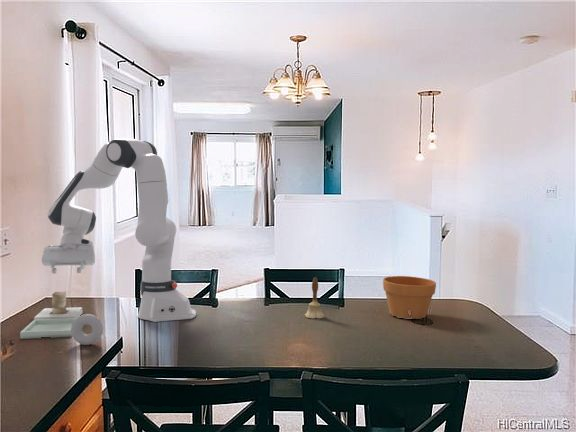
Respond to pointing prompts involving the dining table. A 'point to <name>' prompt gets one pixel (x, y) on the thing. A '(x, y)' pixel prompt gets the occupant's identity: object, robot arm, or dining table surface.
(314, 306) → the hand bell
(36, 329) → the tray
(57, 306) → the maple block
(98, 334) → the donut
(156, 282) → the robot arm
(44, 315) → the pocket plate
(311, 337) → the dining table surface
